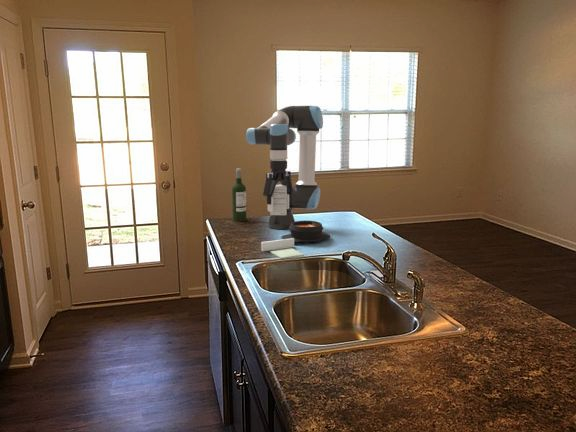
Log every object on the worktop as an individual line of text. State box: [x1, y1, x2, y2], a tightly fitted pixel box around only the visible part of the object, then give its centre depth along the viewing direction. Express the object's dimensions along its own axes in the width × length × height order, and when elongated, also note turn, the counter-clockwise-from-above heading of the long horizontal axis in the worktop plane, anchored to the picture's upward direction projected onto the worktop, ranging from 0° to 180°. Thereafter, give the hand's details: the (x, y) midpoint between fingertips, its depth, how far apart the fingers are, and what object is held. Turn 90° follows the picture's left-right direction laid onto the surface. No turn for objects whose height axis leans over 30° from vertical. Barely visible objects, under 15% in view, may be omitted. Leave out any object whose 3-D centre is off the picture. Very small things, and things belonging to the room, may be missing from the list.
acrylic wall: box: [260, 238, 295, 252], centre depth 220 cm, size 16×1×4 cm, turn 116°
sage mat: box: [269, 247, 304, 260], centre depth 212 cm, size 11×11×1 cm
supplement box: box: [269, 184, 287, 216], centre depth 214 cm, size 7×7×13 cm
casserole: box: [280, 220, 332, 244], centre depth 235 cm, size 25×19×8 cm
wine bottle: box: [231, 167, 247, 222], centre depth 277 cm, size 8×8×30 cm
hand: (278, 209), depth 214 cm, fingers closed on supplement box, 10 cm apart
